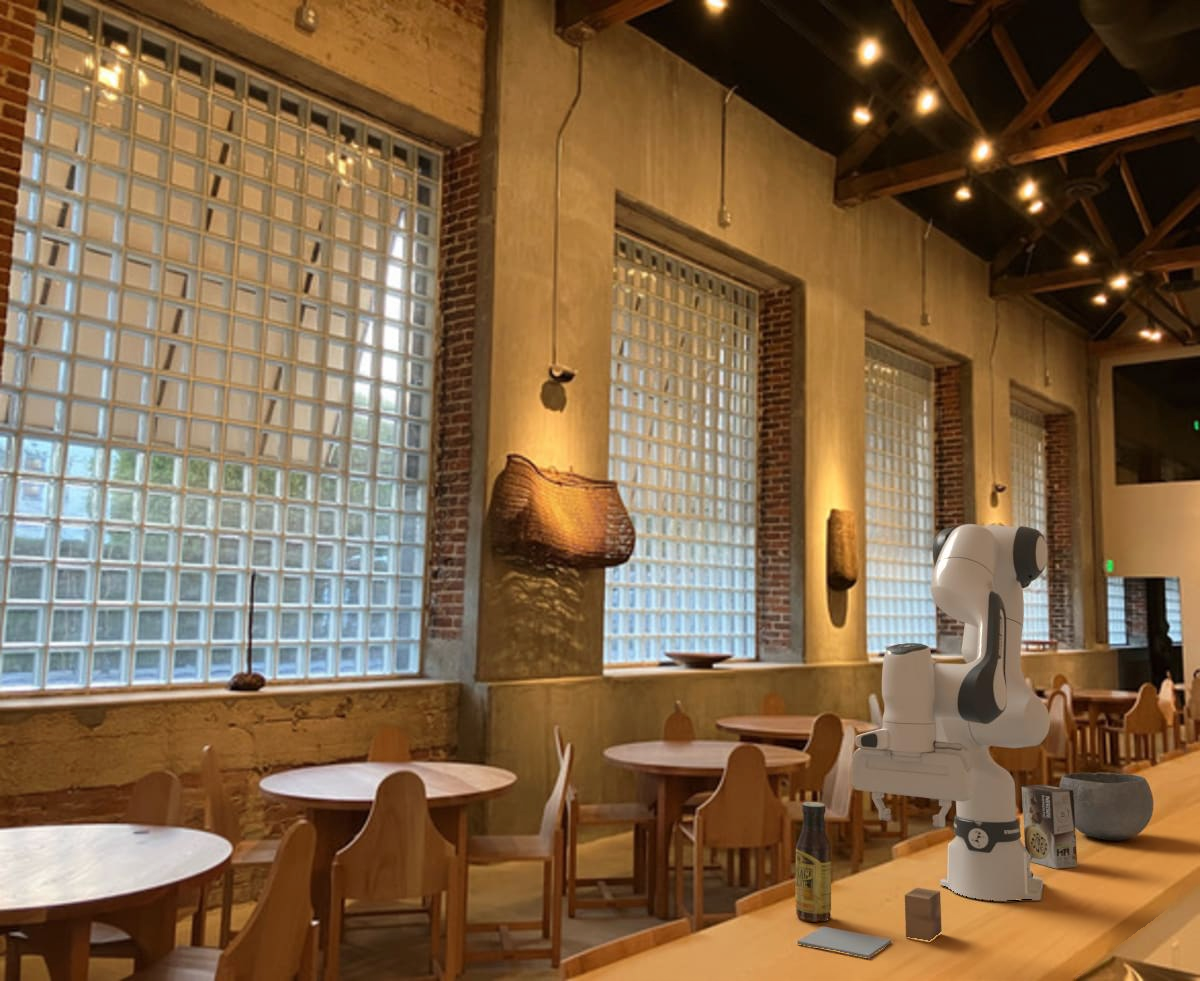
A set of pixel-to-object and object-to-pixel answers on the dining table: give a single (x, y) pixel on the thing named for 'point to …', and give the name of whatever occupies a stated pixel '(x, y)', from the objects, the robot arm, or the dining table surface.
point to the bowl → (1110, 804)
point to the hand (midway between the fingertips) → (911, 823)
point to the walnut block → (923, 913)
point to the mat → (845, 941)
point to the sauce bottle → (813, 866)
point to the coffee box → (1049, 825)
